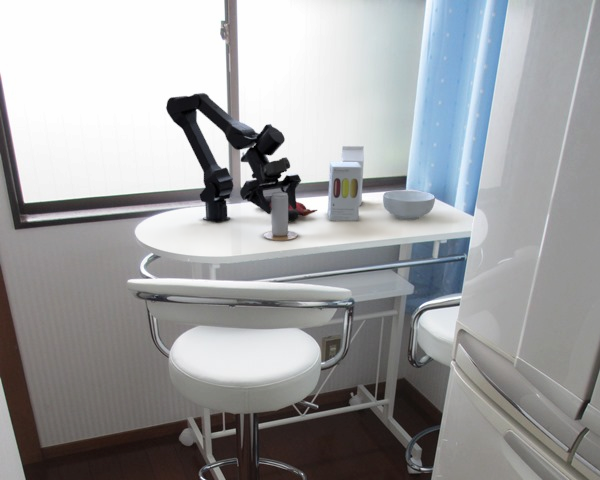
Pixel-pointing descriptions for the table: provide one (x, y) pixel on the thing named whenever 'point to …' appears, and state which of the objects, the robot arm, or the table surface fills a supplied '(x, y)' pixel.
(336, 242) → the table surface
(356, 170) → the supplement box
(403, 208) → the cereal bowl
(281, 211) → the beverage can
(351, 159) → the milk carton
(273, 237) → the cork coaster
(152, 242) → the table surface
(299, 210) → the toy motorcycle
